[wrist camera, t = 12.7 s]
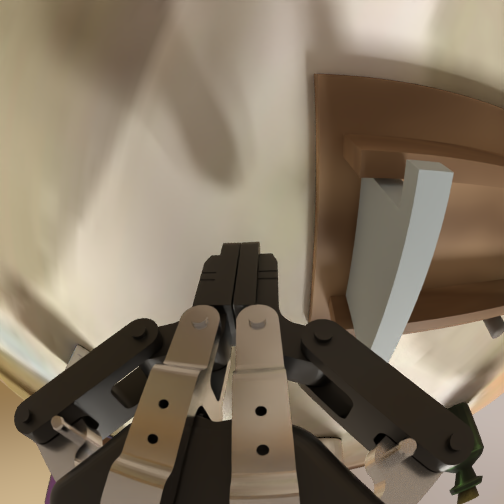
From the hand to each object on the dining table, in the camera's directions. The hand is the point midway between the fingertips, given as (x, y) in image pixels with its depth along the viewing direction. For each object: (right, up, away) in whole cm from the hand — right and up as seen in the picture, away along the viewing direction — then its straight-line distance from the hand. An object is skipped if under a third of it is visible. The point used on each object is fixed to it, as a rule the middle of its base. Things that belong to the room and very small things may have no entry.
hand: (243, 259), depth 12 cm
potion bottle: (+34, -26, +21) cm, 48 cm away
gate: (+6, +1, +1) cm, 6 cm away
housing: (+15, +2, +1) cm, 15 cm away
